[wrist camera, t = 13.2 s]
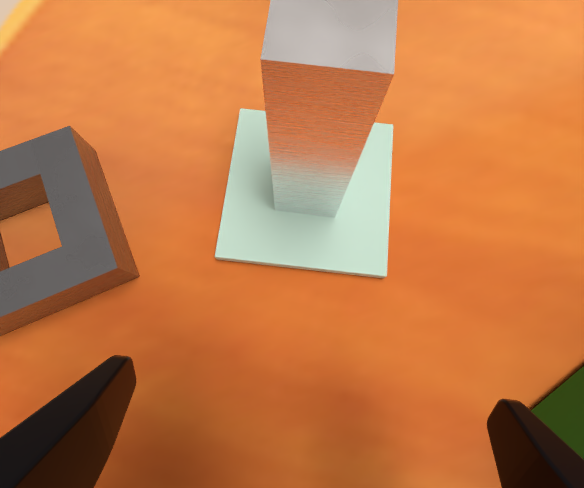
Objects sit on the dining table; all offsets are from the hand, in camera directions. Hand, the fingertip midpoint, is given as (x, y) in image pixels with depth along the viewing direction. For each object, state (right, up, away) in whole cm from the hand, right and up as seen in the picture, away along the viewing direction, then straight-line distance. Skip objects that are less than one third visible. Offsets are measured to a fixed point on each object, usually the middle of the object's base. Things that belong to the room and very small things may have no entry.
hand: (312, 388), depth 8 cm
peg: (+1, +7, +15) cm, 17 cm away
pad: (+1, +7, +16) cm, 17 cm away
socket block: (-17, +4, +15) cm, 23 cm away
